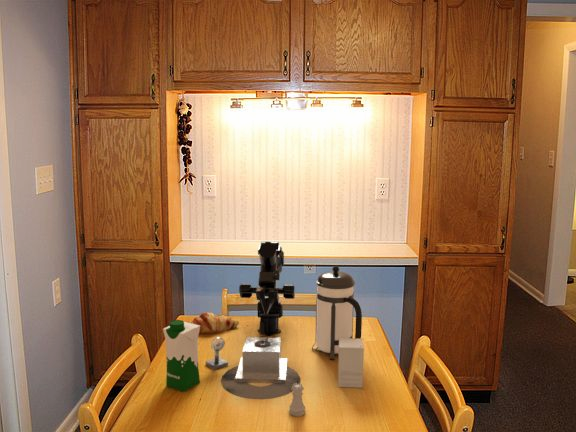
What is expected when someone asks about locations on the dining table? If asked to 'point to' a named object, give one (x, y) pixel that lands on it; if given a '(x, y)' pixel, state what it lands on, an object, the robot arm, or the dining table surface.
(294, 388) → the rook chess piece
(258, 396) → the platter
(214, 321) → the croissant
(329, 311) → the coffee press
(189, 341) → the milk carton
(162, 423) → the dining table surface
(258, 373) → the cover
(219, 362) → the rubber stamp
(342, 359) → the supplement box
